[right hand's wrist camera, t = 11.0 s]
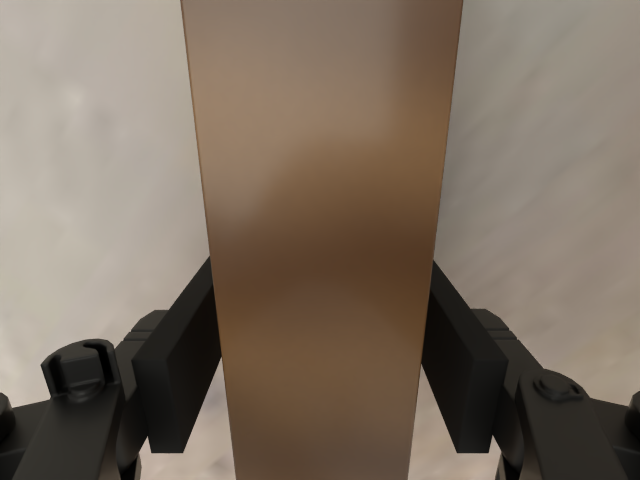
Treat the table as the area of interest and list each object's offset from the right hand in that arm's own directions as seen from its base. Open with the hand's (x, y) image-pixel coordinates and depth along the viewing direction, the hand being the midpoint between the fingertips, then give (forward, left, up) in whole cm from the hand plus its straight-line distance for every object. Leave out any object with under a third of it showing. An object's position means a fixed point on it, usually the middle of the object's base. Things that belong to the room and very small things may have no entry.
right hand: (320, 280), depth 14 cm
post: (+23, -10, -2) cm, 26 cm away
